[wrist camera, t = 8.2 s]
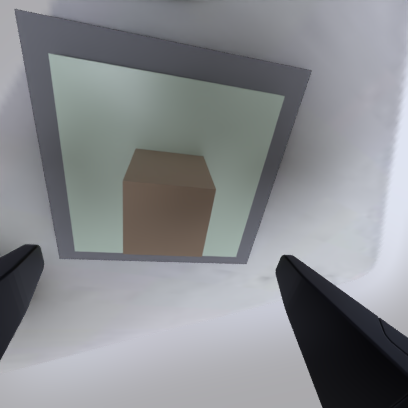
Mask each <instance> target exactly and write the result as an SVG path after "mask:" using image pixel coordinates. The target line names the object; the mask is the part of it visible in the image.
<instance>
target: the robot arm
mask: <svg viewBox="0 0 408 408" xmlns="http://www.w3.org/2000/svg"><path fill="white" fill-rule="evenodd" d="M43 268H44V260H43V256H42V252H41V248H40V246H39V245H32V244H25V245H23V246H21V247H19V248H17V249H15V250H14V251H12V252H10V253H8V254H6V255H4V256H3V257H1V258H0V360H1V358H2V356H3V354H4V353H5V351H6V349H7V347H8V345H9V343H10V341H11V339H12V338H13V336H14V334H15V332H16V330H17V328H18V326H19V324H20V323H21V321H22V319H23V317H24V315H25V313H26V311H27V308H28V306H29V304H30V301H31V299H32V296H33V294H34V291H35V289H36V286H37V284H38V281H39V278H40V276H41V273H42V271H43ZM276 277H277V281H278V285H279V288H280V292H281V296H282V300H283V303H284V306H285V310H286V313H287V315H288V318H289V321H290V323H291V326H292V329H293V331H294V334H295V337H296V339H297V342H298V345H299V347H300V350H301V352H302V355H303V358H304V360H305V363H306V366H307V368H308V371H309V373H310V376H311V379H312V381H313V384H314V387H315V389H316V392H317V394H318V397H319V400H320V402H321V405H322V407H323V408H408V338H407V337H406V336H405V335H403V334H402V333H400V332H399V331H398V330H396V329H394V328H393V327H392V326H390V325H389V324H387V323H386V322H385V321H384V320H382V319H381V318H378V316H377V315H375V314H374V313H372V312H371V311H370V310H368V309H366V308H365V307H364V306H363V305H361V304H360V303H358V302H357V301H356V300H354V299H353V298H351V297H350V296H349V295H347V294H346V293H345V292H343V291H342V290H340V289H339V288H338V287H336V286H335V285H333V284H332V283H331V282H329V281H328V280H326V279H325V278H324V277H322V276H321V275H320V274H318V273H317V272H315V271H314V270H313V269H311V268H310V267H308V266H307V265H306V264H304V263H303V262H301V261H300V260H299V259H297V258H296V257H294V256H293V255H283V256H281V258H280V261H279V263H278V265H277V268H276Z"/></svg>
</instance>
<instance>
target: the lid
mask: <svg viewBox="0 0 408 408" xmlns="http://www.w3.org/2000/svg"><path fill="white" fill-rule="evenodd" d="M48 55H49V62H50V70H51V77H52V84H53V92H54V99H55V107H56V114H57V122H58V129H59V136H60V144H61V151H62V159H63V166H64V173H65V181H66V188H67V196H68V203H69V211H70V218H71V225H72V233H73V240H74V248H75V251H79V252H107V253H123V254H133V255H162V256H191V257H202V256H220V257H236V255H237V252H238V249H239V246H240V242H241V239H242V236H243V232H244V229H245V226H246V222H247V219H248V216H249V213H250V209H251V206H252V203H253V199H254V196H255V193H256V189H257V186H258V183H259V180H260V176H261V173H262V170H263V166H264V163H265V160H266V157H267V153H268V150H269V147H270V143H271V140H272V137H273V133H274V130H275V127H276V124H277V120H278V117H279V114H280V110H281V107H282V104H283V101H284V97H285V96H282V95H277V94H272V93H266V92H261V91H255V90H250V89H244V88H239V87H233V86H228V85H222V84H217V83H211V82H206V81H200V80H195V79H189V78H184V77H178V76H173V75H167V74H162V73H156V72H151V71H145V70H140V69H134V68H129V67H123V66H118V65H112V64H107V63H101V62H96V61H90V60H85V59H79V58H74V57H68V56H63V55H57V54H49V53H48Z"/></svg>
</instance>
